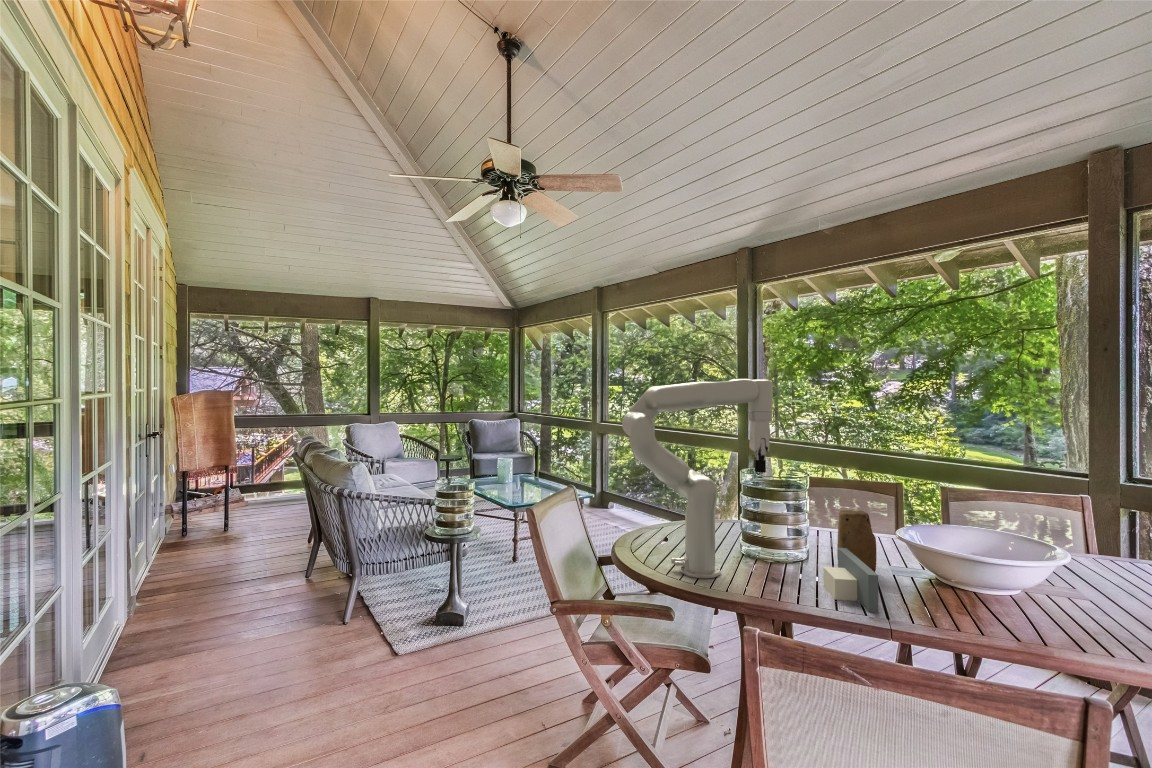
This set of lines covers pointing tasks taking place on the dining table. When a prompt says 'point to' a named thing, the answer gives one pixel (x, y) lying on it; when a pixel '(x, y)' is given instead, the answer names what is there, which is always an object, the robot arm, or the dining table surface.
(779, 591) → the dining table surface
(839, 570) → the cream block
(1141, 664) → the dining table surface
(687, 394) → the robot arm
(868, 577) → the slate board
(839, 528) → the block
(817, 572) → the dining table surface
